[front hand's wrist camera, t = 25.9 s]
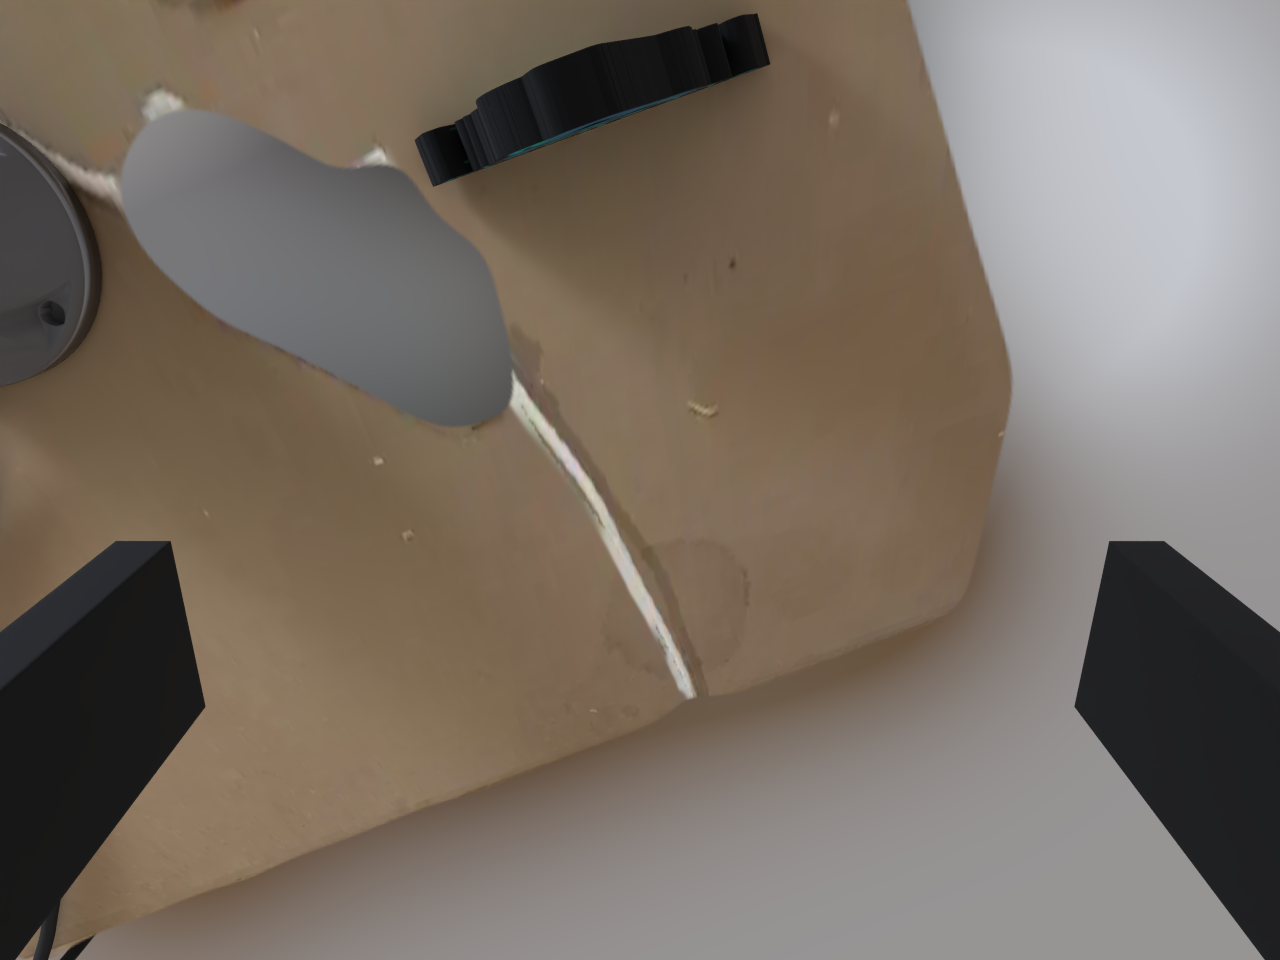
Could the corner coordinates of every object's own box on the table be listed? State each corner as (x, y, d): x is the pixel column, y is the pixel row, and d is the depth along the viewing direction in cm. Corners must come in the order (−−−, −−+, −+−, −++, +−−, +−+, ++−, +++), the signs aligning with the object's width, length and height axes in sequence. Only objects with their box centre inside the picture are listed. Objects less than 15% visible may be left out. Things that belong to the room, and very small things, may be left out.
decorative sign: (755, 15, 46) (806, -35, 32) (768, 65, 47) (823, 37, 33) (417, 140, 48) (326, 145, 34) (435, 185, 49) (354, 208, 35)
